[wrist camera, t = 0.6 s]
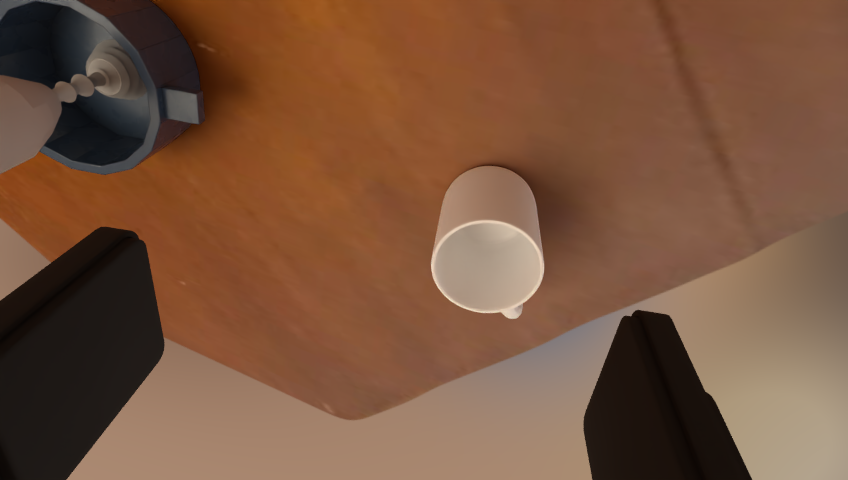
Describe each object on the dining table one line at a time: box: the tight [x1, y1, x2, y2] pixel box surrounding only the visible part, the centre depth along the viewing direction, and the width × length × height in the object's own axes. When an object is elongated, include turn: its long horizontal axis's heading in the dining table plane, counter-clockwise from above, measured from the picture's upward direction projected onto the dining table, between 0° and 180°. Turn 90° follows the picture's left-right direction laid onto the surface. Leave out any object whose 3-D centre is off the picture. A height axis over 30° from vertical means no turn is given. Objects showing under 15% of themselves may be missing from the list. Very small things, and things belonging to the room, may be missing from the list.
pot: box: [0, 0, 205, 175], centre depth 42 cm, size 14×19×6 cm
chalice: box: [0, 39, 147, 174], centre depth 37 cm, size 7×7×18 cm
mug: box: [431, 166, 544, 319], centre depth 44 cm, size 12×8×10 cm
